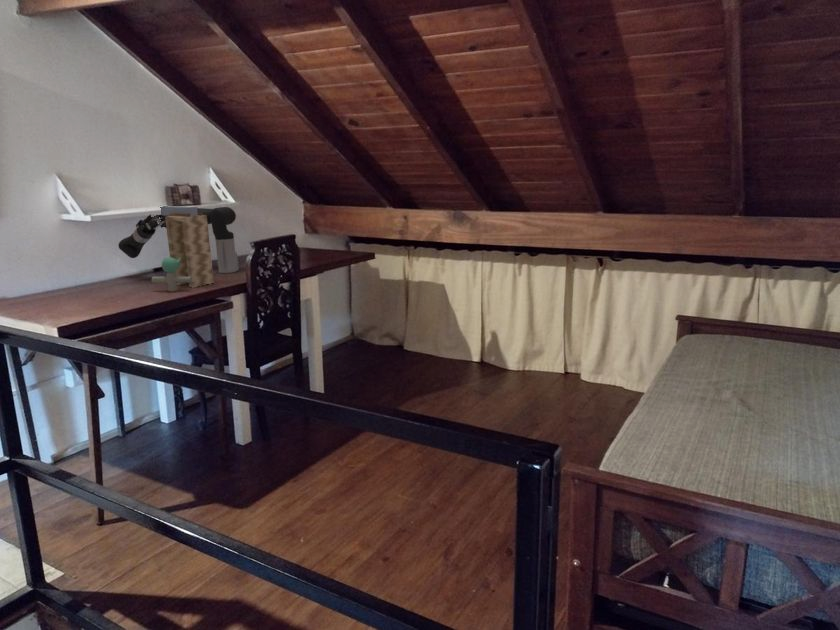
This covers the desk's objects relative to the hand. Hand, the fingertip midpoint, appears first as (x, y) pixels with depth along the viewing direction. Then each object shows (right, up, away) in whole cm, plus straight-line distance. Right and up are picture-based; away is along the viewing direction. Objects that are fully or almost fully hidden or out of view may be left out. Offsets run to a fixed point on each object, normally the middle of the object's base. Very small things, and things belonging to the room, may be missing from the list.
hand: (159, 216), depth 294 cm
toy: (+13, -36, -15) cm, 41 cm away
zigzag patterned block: (+17, -32, -1) cm, 37 cm away
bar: (+12, -1, -7) cm, 14 cm away
